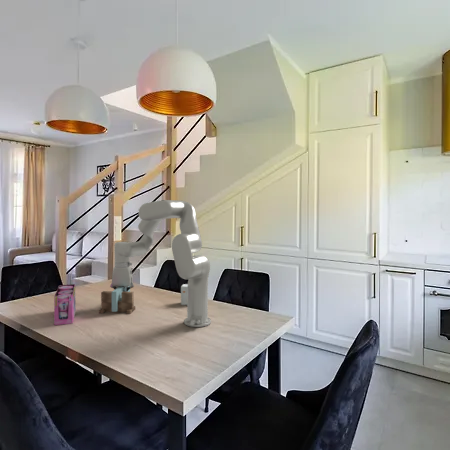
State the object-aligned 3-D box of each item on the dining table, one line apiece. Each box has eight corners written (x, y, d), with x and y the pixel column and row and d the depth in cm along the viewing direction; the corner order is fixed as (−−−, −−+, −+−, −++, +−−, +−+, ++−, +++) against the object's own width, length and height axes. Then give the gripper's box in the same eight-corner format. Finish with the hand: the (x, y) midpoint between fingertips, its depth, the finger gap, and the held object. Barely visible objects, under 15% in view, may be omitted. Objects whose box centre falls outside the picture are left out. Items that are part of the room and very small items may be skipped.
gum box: (73, 324, 148) (72, 295, 147) (53, 326, 145) (53, 296, 144) (75, 309, 170) (75, 283, 169) (59, 311, 167) (58, 285, 166)
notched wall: (135, 309, 171) (135, 290, 171) (130, 313, 163) (130, 294, 163) (105, 308, 172) (105, 289, 171) (99, 313, 164) (98, 293, 163)
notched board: (116, 311, 162) (116, 291, 162) (111, 311, 162) (111, 291, 162) (130, 300, 184) (130, 282, 184) (126, 300, 184) (126, 282, 184)
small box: (196, 302, 184) (197, 284, 183) (195, 305, 178) (195, 286, 178) (183, 302, 185) (183, 283, 184) (180, 305, 179) (180, 286, 179)
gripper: (138, 264, 177) (139, 297, 178) (109, 263, 177) (110, 296, 178) (134, 266, 169) (135, 301, 170) (104, 266, 170) (104, 300, 170)
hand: (122, 298), depth 174 cm, fingers closed on notched board, 2 cm apart
